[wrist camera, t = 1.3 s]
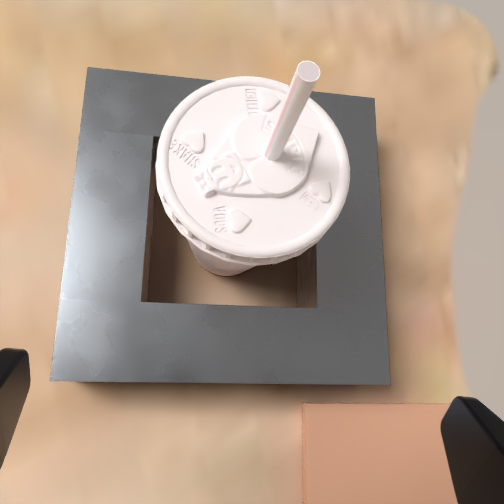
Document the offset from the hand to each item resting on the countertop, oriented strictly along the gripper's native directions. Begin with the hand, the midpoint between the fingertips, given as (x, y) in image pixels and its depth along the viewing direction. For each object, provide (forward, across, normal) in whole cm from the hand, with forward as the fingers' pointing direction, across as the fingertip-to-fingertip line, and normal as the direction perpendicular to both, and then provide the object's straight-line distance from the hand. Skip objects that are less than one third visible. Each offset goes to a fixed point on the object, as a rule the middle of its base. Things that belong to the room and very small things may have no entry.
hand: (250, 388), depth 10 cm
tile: (+6, -9, +12) cm, 16 cm away
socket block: (+14, 0, +4) cm, 15 cm away
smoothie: (+14, 0, +5) cm, 15 cm away
